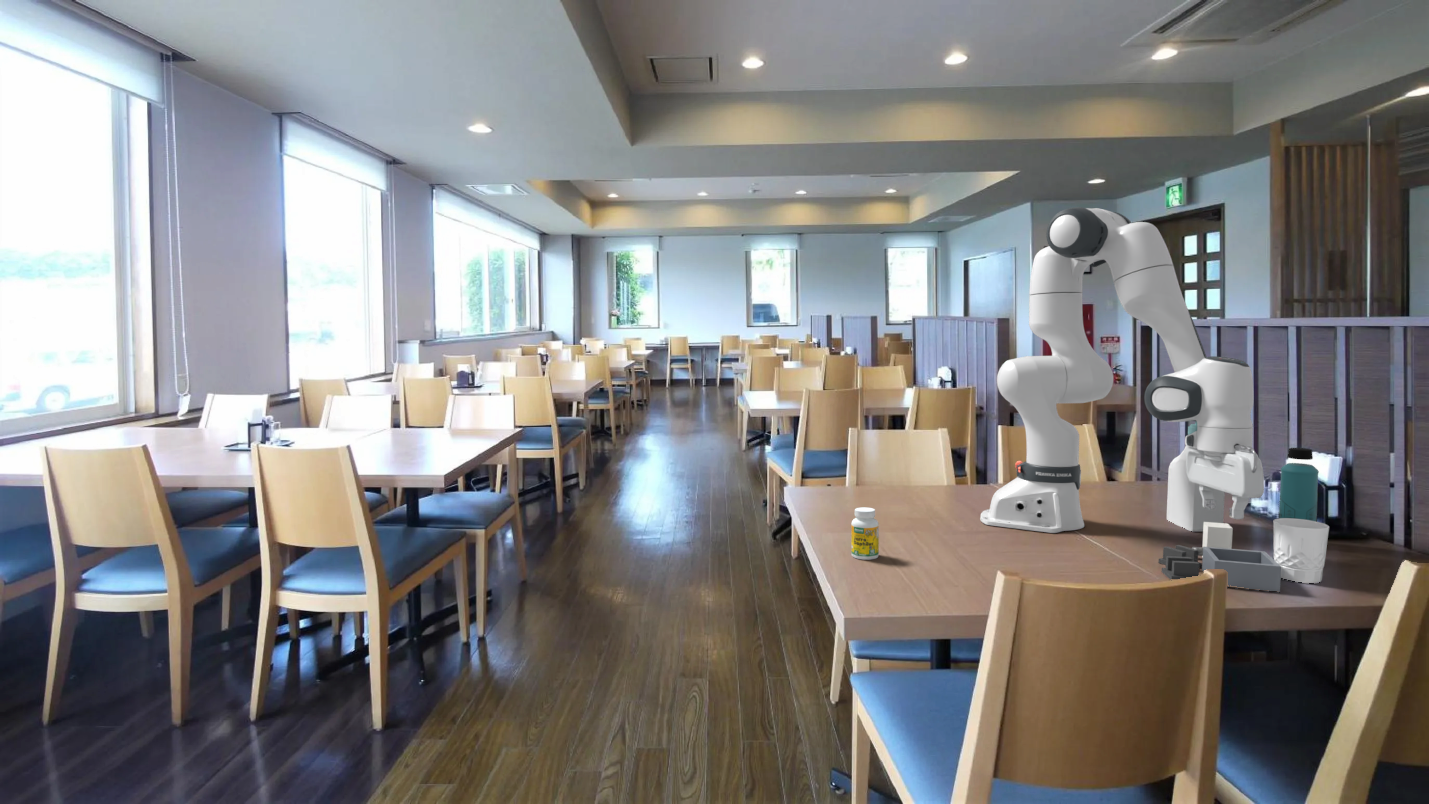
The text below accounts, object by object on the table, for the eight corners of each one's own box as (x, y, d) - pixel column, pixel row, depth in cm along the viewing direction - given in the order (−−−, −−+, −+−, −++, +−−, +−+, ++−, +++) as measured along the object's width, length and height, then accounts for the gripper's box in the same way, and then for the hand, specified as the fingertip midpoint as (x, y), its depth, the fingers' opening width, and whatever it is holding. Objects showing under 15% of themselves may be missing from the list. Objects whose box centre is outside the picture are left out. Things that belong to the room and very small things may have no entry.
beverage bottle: (1322, 547, 156) (1328, 450, 154) (1286, 546, 157) (1291, 450, 156) (1305, 539, 162) (1310, 446, 161) (1269, 537, 164) (1274, 445, 162)
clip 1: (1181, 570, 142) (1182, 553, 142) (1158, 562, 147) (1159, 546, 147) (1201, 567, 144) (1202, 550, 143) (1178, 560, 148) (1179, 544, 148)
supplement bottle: (879, 553, 155) (880, 507, 154) (877, 561, 150) (877, 513, 149) (852, 551, 156) (853, 505, 156) (849, 559, 151) (849, 511, 151)
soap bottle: (1231, 532, 168) (1237, 408, 166) (1192, 532, 169) (1198, 408, 167) (1202, 520, 179) (1208, 404, 177) (1166, 520, 180) (1171, 404, 177)
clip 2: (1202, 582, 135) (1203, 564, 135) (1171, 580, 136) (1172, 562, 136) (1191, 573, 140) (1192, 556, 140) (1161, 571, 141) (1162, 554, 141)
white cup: (1259, 572, 141) (1262, 518, 140) (1299, 570, 141) (1302, 517, 141) (1295, 585, 133) (1298, 529, 132) (1337, 584, 134) (1341, 528, 133)
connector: (1194, 561, 148) (1195, 525, 147) (1190, 555, 152) (1191, 520, 151) (1230, 564, 146) (1232, 528, 145) (1225, 558, 149) (1227, 523, 149)
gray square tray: (1213, 585, 133) (1214, 560, 133) (1202, 570, 142) (1203, 546, 142) (1279, 592, 130) (1281, 566, 129) (1263, 575, 138) (1265, 551, 138)
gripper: (1275, 447, 135) (1273, 525, 136) (1213, 436, 156) (1211, 503, 156) (1237, 447, 136) (1235, 524, 137) (1180, 436, 156) (1178, 503, 157)
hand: (1222, 513), depth 147 cm, fingers open, 8 cm apart
